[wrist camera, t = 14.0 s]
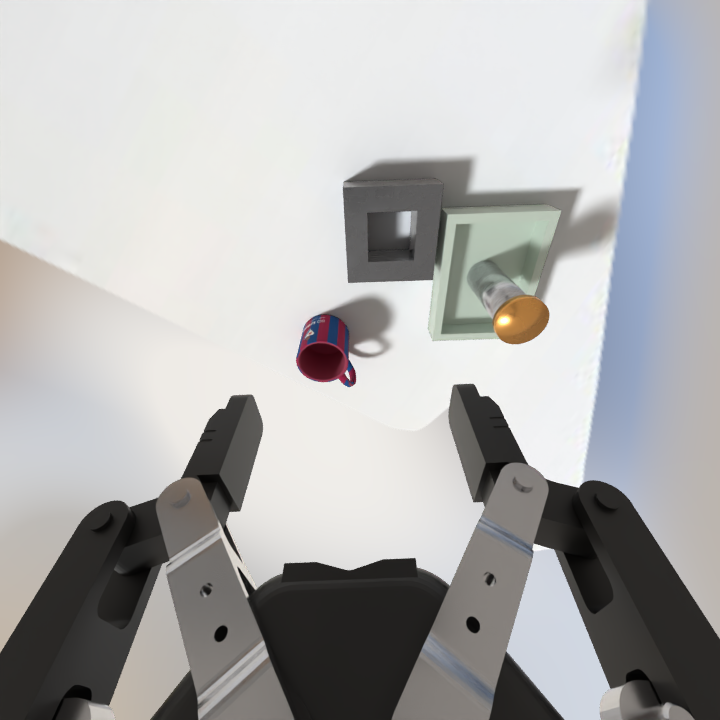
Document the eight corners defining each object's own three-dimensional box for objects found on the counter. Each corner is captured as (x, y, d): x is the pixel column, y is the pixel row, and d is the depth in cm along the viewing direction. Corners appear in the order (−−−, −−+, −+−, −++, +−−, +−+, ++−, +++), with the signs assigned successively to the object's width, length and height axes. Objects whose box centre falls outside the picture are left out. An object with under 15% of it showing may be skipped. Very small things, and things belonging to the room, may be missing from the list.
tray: (441, 207, 37) (448, 214, 34) (545, 204, 37) (561, 210, 34) (427, 328, 46) (432, 340, 43) (511, 325, 46) (520, 337, 43)
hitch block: (343, 181, 35) (342, 187, 32) (435, 178, 35) (443, 183, 32) (348, 270, 41) (348, 282, 38) (426, 267, 41) (432, 279, 38)
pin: (466, 256, 39) (502, 300, 30) (506, 255, 39) (556, 298, 30) (459, 294, 42) (491, 344, 33) (497, 293, 42) (540, 343, 33)
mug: (332, 306, 44) (329, 332, 38) (368, 356, 49) (370, 385, 44) (293, 327, 46) (285, 355, 40) (332, 374, 51) (329, 404, 46)
